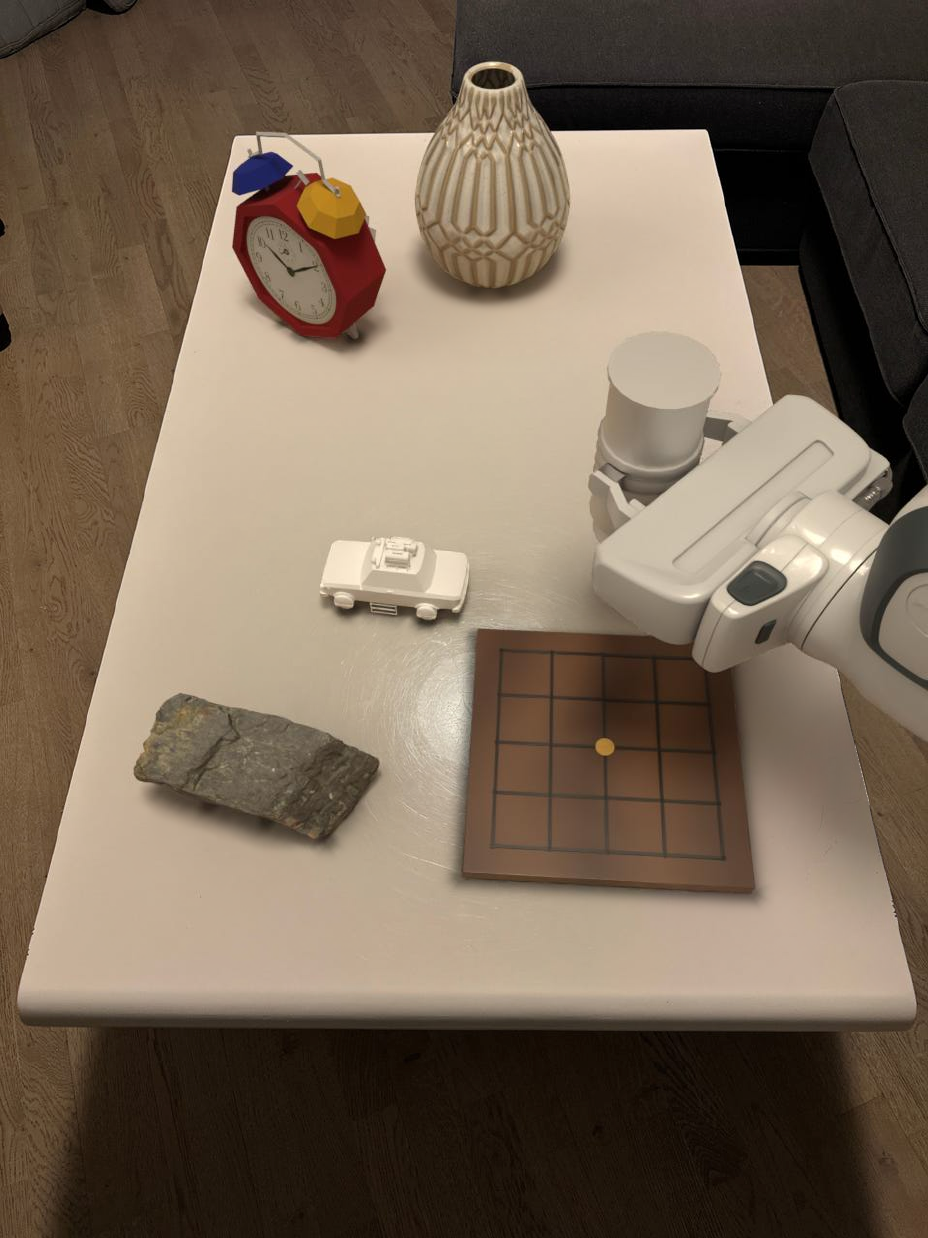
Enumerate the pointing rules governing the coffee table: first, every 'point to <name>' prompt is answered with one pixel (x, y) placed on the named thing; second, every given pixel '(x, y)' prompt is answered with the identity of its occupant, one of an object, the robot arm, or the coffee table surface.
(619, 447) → the white travel cup
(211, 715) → the rock
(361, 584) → the toy car
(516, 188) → the vase
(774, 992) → the coffee table surface
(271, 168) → the alarm clock
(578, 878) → the grid board
